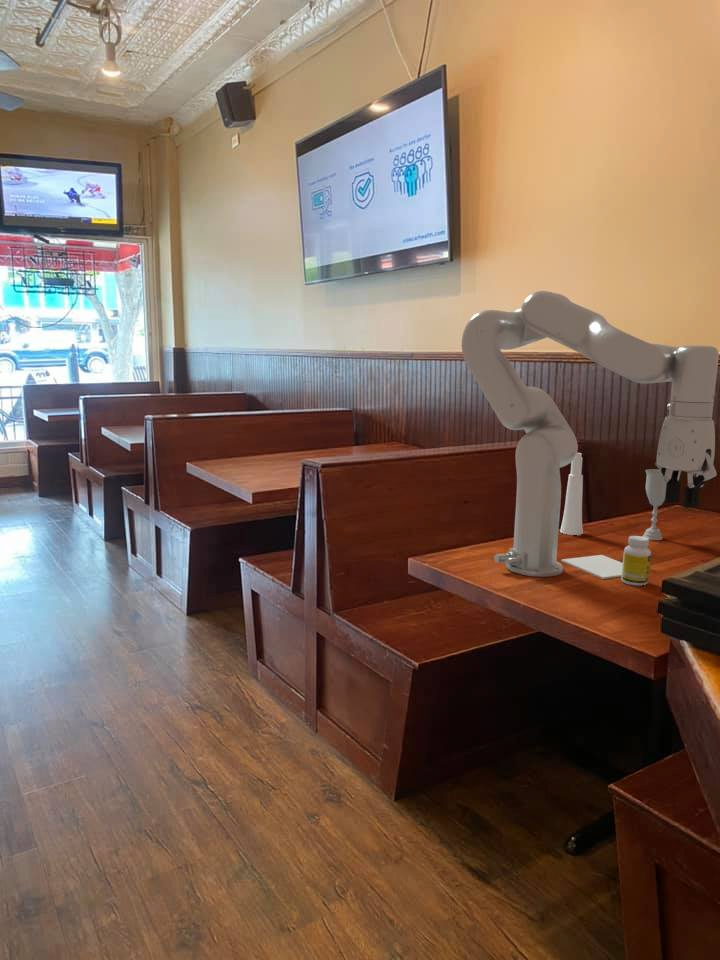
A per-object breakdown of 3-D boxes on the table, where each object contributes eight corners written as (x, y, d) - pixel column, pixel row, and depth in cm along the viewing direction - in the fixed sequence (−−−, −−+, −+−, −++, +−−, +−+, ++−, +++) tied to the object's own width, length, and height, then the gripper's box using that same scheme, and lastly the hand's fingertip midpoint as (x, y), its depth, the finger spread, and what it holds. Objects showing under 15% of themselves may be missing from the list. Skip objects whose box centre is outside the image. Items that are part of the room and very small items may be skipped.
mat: (602, 579, 151) (602, 577, 151) (561, 561, 164) (561, 559, 164) (645, 573, 156) (645, 571, 156) (601, 556, 168) (601, 554, 168)
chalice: (669, 541, 183) (676, 474, 180) (642, 540, 184) (648, 473, 181) (662, 534, 190) (668, 469, 187) (636, 533, 191) (642, 468, 188)
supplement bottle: (650, 587, 146) (654, 542, 144) (623, 585, 147) (627, 540, 145) (645, 579, 151) (649, 535, 150) (619, 577, 152) (623, 534, 151)
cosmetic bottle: (587, 535, 188) (593, 454, 184) (567, 536, 187) (573, 454, 183) (575, 529, 194) (581, 451, 190) (555, 530, 193) (561, 451, 189)
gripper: (642, 408, 140) (634, 497, 143) (712, 415, 125) (701, 515, 128) (671, 407, 143) (662, 495, 146) (743, 414, 127) (731, 512, 131)
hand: (680, 503), depth 137 cm, fingers open, 3 cm apart
